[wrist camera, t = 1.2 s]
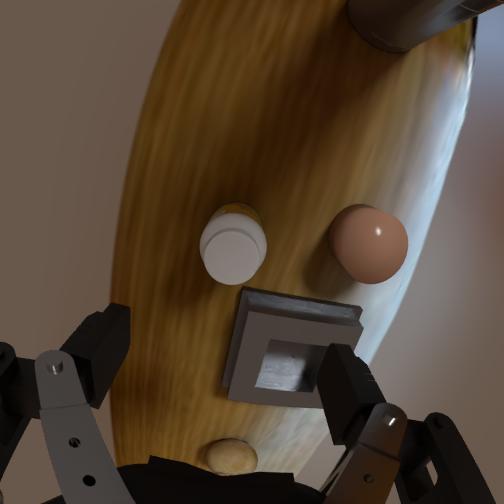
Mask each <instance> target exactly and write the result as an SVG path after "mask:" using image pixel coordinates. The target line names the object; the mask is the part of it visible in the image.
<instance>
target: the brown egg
mask: <svg viewBox="0 0 504 504" xmlns="http://www.w3.org/2000/svg"><path fill="white" fill-rule="evenodd" d="M328 243H329V247H330V250H331V252H332V254H333V256H334V257H335V258H336V259H337V260H338V262H339V263H340V264H341V265H342V266H343V267H344V268H345V269H346V271H347V272H348V273H349V274H350V275H351V276H352V277H353V278H354V279H355V280H357V281H359V282H361V283H365V284H377V283H381V282H383V281H386V280H388V279H389V278H391V277H392V276H393V275H394V274H395V273H396V272H397V271H398V270H399V269H400V267H401V266H402V264H403V262H404V260H405V258H406V255H407V250H408V237H407V233H406V230H405V228H404V226H403V225H402V223H401V222H400V221H399V220H398V219H397V218H396V217H394V216H393V215H391V214H388V213H386V212H384V211H381V210H379V209H376V208H374V207H371V206H369V205H365V204H355V205H351V206H348V207H346V208H344V209H343V210H342V211H340V212H339V213H338V214H337V215H336V217H335V218H334V220H333V221H332V223H331V226H330V229H329V233H328Z"/></svg>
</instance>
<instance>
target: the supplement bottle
mask: <svg viewBox="0 0 504 504" xmlns="http://www.w3.org/2000/svg"><path fill="white" fill-rule="evenodd" d="M266 250H267V244H266V238H265V234H264V230H263V226H262V223H261V220H260V218H259V216H258V214H257V213H256V212H255V211H254V210H253V209H252V208H251V207H249V206H247V205H245V204H241V203H230V204H227V205H224V206H222V207H221V208H219V209H218V210H217V211H216V212H215V213H214V214H213V215H212V217H211V219H210V220H209V222H208V224H207V226H206V227H205V229H204V231H203V233H202V236H201V239H200V254H201V257H202V260H203V262H204V264H205V267H206V270H207V271H208V273H209V274H210V275H211V276H212V278H214V279H215V280H216V281H218V282H220V283H223V284H227V285H237V284H241V283H244V282H246V281H247V280H249V279H250V278H251V277H252V276H253V275H254V274H255V273H256V271H257V269H258V268H259V267H260V266H261V264H262V262H263V260H264V258H265V255H266Z"/></svg>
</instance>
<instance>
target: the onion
mask: <svg viewBox="0 0 504 504" xmlns="http://www.w3.org/2000/svg"><path fill="white" fill-rule="evenodd" d="M206 460H207V464H208V466H209V468H210V469H211V471H212V472H213V473H215V474H218V475H222V476H228V475H238V474H246V473H252V472H253V471H254V470H255V468H256V466H257V463H258V457H257V454H256V451H255V450H254V449H253V448H252V447H251V446H250V445H249V444H248V443H247V442H245V441H243V442H242V441H240V440H236V439H226V440H221V441H218V442H216V443H214V444H213V445H212V446H211V447H210V448H209V450H208V452H207V455H206Z"/></svg>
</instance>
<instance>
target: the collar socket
mask: <svg viewBox="0 0 504 504" xmlns="http://www.w3.org/2000/svg"><path fill="white" fill-rule="evenodd" d="M362 311H363V310H362V308H361V307H360V306H356V305H349V304H343V303H337V302H331V301H324V300H318V299H312V298H306V297H301V296H295V295H289V294H283V293H278V292H272V291H267V290H261V289H256V288H250V287H245V286H243V288H242V293H241V297H240V301H239V306H238V310H237V315H236V319H235V324H234V328H233V333H232V337H231V342H230V346H229V351H228V355H227V360H226V364H225V369H224V373H223V378H222V383H221V386H222V387H228V392H227V400H234V401H241V402H248V403H256V404H265V405H275V406H287V407H300V408H320V409H323V406H322V402H321V399H320V395H319V392H318V389H317V384H316V379H317V373H318V370H319V368H320V366H321V363H322V361H323V359H324V356H325V354H326V351H327V349H328V346H329V345H330V344H331V343H339V344H348V345H350V346H351V348H352V350H353V352H354V350H355V348H356V345H357V343H358V341H359V338H360V336H361V334H362V331H363V329H364V328H363V326H362V325H361V323H360V322H359V319H360V316H361V313H362Z"/></svg>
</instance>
